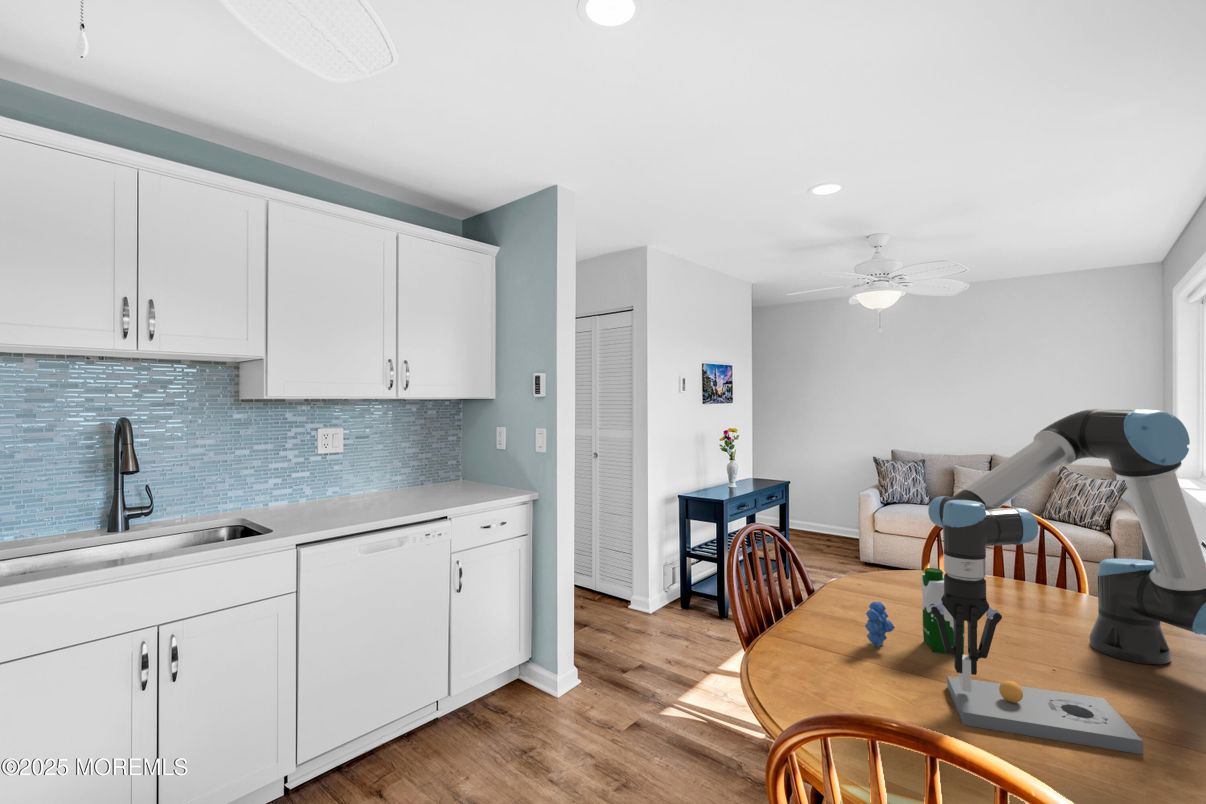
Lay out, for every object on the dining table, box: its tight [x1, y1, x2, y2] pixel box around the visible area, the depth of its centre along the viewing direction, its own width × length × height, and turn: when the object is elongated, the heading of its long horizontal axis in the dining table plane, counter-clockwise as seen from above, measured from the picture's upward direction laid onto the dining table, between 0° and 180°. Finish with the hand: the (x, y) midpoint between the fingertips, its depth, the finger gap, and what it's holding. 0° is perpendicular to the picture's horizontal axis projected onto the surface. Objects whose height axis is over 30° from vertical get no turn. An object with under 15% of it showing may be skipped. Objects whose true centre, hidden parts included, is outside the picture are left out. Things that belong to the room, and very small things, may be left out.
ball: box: [999, 680, 1023, 703], centre depth 118 cm, size 4×4×4 cm
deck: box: [946, 675, 1144, 755], centre depth 117 cm, size 28×16×2 cm, turn 69°
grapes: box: [864, 601, 896, 648], centre depth 151 cm, size 12×7×12 cm, turn 139°
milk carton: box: [920, 567, 965, 655], centre depth 150 cm, size 9×9×20 cm
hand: (965, 688), depth 121 cm, fingers closed
